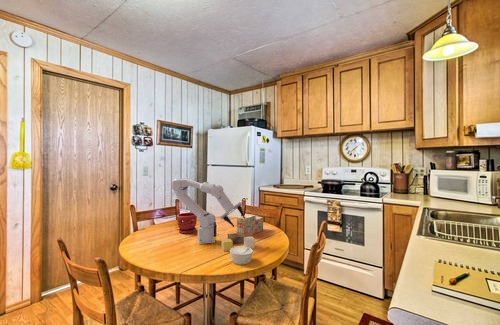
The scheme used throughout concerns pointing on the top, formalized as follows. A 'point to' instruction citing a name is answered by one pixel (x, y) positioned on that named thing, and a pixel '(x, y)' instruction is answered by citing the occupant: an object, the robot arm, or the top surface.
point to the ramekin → (241, 255)
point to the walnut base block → (236, 238)
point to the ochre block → (226, 244)
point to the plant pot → (186, 222)
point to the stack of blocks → (249, 225)
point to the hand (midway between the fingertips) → (239, 222)
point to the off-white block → (249, 242)
